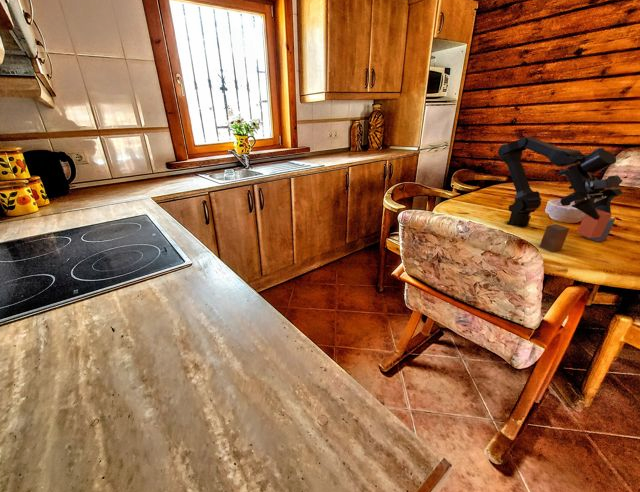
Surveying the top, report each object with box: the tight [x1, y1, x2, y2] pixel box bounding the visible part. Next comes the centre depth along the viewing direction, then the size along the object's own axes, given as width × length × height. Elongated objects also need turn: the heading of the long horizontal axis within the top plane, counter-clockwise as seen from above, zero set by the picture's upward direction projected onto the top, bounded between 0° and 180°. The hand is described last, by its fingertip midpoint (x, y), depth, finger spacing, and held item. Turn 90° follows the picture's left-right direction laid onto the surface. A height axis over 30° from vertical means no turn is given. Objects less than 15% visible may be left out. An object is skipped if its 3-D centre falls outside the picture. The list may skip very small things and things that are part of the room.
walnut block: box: [539, 223, 570, 253], centre depth 104 cm, size 4×4×9 cm
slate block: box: [583, 217, 616, 243], centre depth 109 cm, size 4×4×9 cm
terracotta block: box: [576, 209, 613, 238], centre depth 99 cm, size 4×4×9 cm
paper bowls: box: [544, 198, 585, 224], centre depth 128 cm, size 15×15×8 cm
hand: (603, 218), depth 96 cm, fingers closed on terracotta block, 4 cm apart
